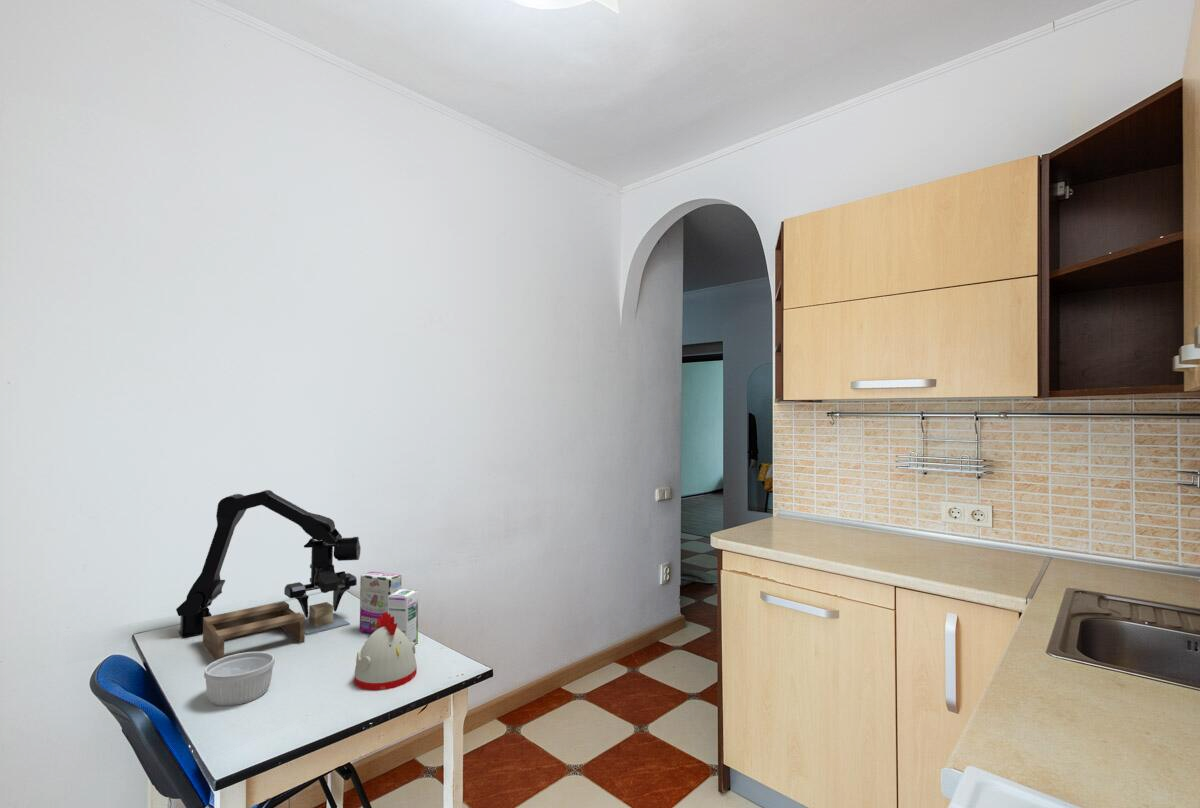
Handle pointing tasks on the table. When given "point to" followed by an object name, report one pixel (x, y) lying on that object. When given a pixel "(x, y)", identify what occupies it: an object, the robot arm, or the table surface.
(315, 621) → the maple block
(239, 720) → the table surface
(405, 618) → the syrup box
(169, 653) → the table surface
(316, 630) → the pad
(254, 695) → the ramekin
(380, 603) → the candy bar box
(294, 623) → the wooden rack
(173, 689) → the table surface
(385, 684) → the kitchen timer
